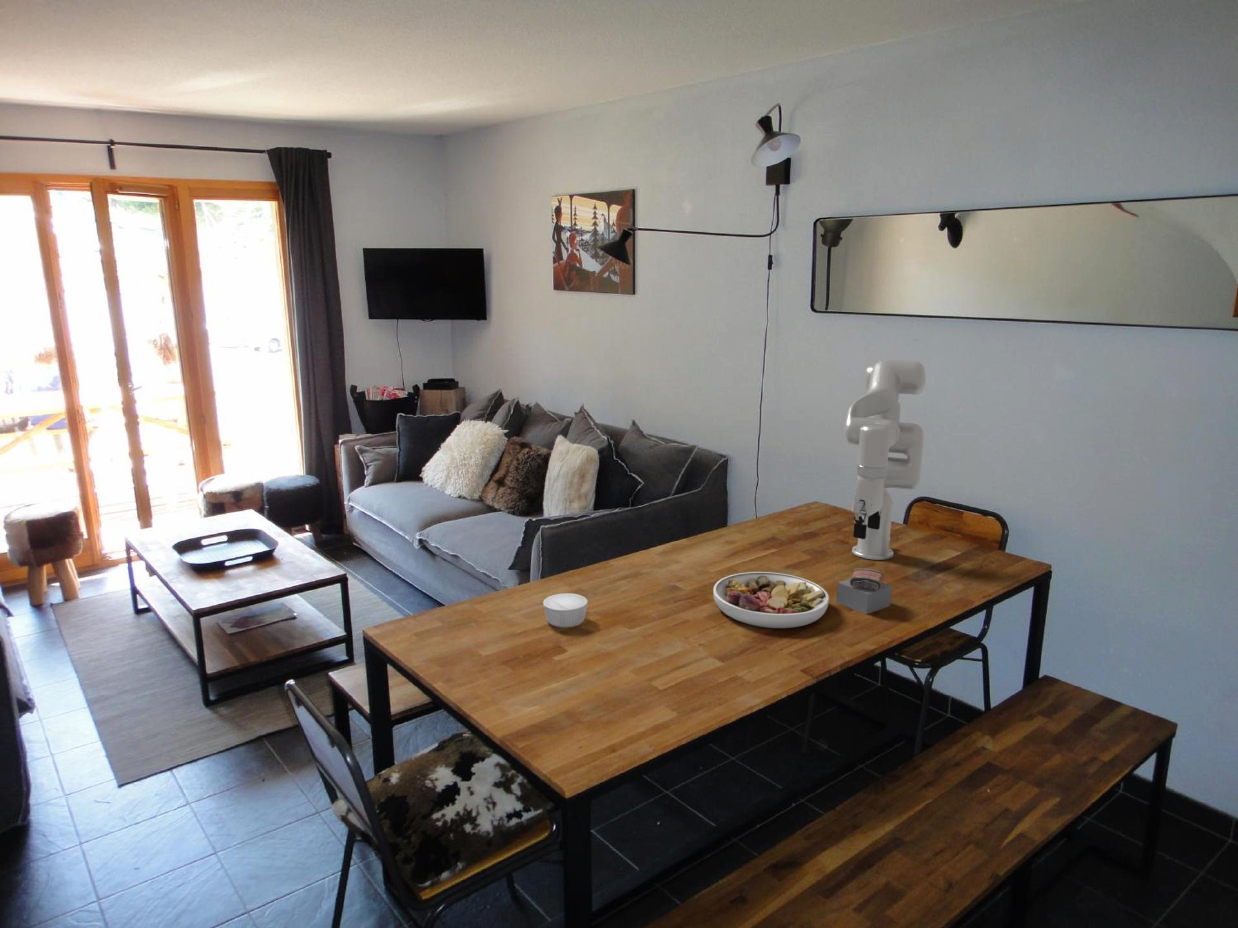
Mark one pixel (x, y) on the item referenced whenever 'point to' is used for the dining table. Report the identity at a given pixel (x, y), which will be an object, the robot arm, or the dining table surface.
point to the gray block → (863, 597)
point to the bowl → (770, 599)
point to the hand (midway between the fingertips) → (866, 533)
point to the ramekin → (565, 609)
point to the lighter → (866, 579)
